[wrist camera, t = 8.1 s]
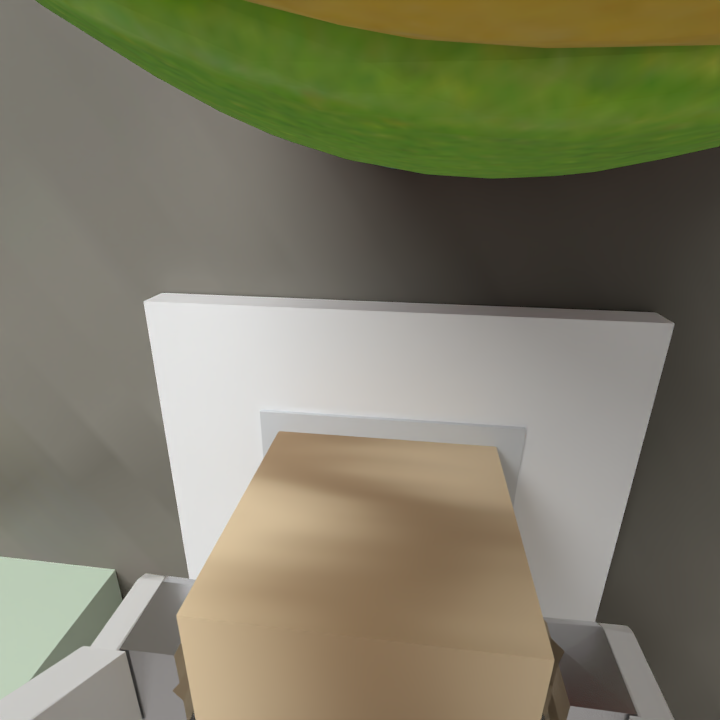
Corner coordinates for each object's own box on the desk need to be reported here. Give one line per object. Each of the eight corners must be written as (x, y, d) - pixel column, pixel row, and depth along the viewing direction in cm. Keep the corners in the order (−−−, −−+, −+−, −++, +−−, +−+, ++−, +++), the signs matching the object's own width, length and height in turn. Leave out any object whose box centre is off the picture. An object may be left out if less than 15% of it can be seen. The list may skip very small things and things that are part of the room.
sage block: (13, 657, 17) (-136, 833, 13) (-27, 551, 15) (-218, 712, 11) (141, 674, 17) (35, 865, 12) (116, 567, 15) (-21, 744, 10)
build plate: (212, 627, 15) (199, 653, 14) (162, 293, 11) (140, 302, 10) (566, 670, 14) (575, 701, 13) (656, 312, 10) (677, 325, 9)
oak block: (288, 590, 13) (214, 821, 8) (278, 430, 11) (176, 615, 6) (474, 610, 12) (505, 870, 8) (496, 446, 10) (554, 660, 6)
